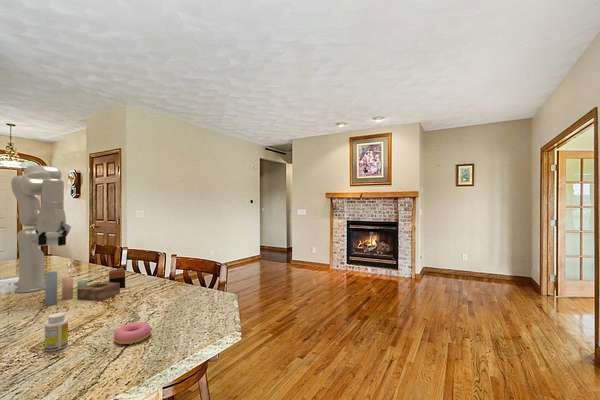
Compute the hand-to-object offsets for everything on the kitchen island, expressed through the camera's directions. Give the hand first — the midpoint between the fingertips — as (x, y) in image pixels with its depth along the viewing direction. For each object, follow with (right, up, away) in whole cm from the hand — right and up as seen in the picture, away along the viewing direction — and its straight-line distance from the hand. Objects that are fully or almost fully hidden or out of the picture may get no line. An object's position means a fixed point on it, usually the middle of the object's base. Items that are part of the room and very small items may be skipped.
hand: (52, 245), depth 129 cm
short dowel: (+2, -26, +16) cm, 31 cm away
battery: (+13, -27, +25) cm, 39 cm away
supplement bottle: (+34, -26, -39) cm, 58 cm away
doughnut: (+54, -27, -32) cm, 68 cm away
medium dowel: (+1, -26, +8) cm, 27 cm away
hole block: (+13, -26, +11) cm, 32 cm away
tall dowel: (0, -26, 0) cm, 26 cm away
